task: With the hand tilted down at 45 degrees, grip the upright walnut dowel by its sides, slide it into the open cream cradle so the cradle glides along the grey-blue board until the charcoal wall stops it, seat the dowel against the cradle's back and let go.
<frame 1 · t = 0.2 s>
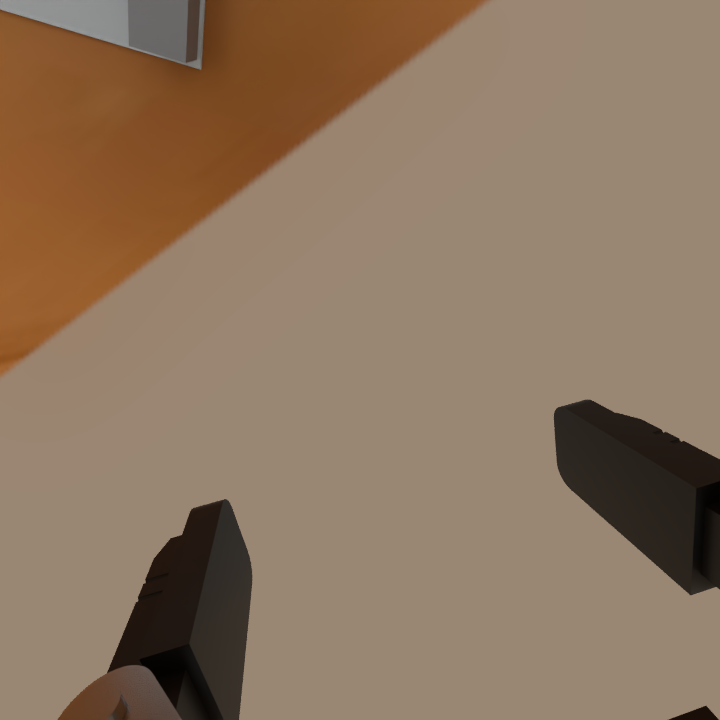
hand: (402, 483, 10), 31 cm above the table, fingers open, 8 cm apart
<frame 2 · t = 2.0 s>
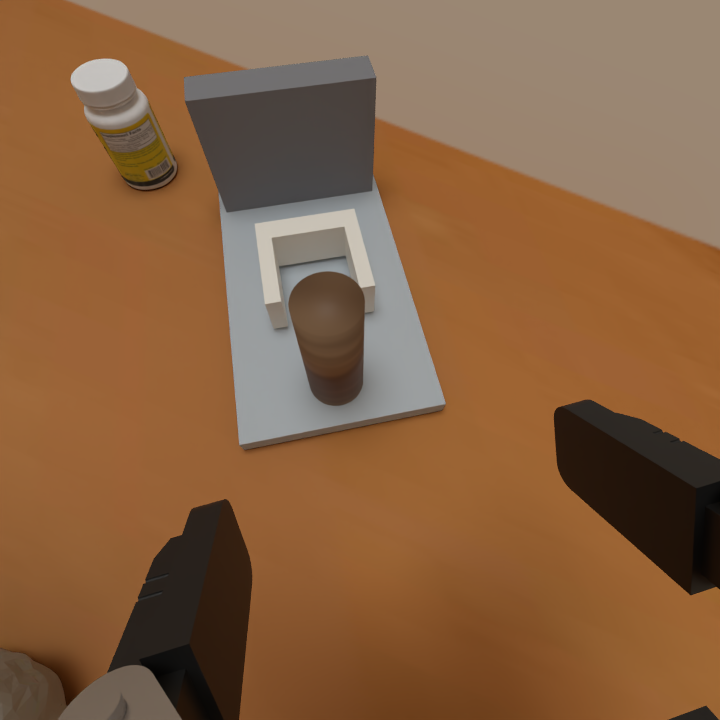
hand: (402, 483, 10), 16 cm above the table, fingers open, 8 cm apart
board with wall: (318, 291, 32), on the table
cradle: (314, 267, 29), point 3 cm above the table, slide at 0.0 cm
supplement bottle: (152, 174, 38), on the table
dowel: (336, 380, 27), point 1 cm above the table, touching board with wall
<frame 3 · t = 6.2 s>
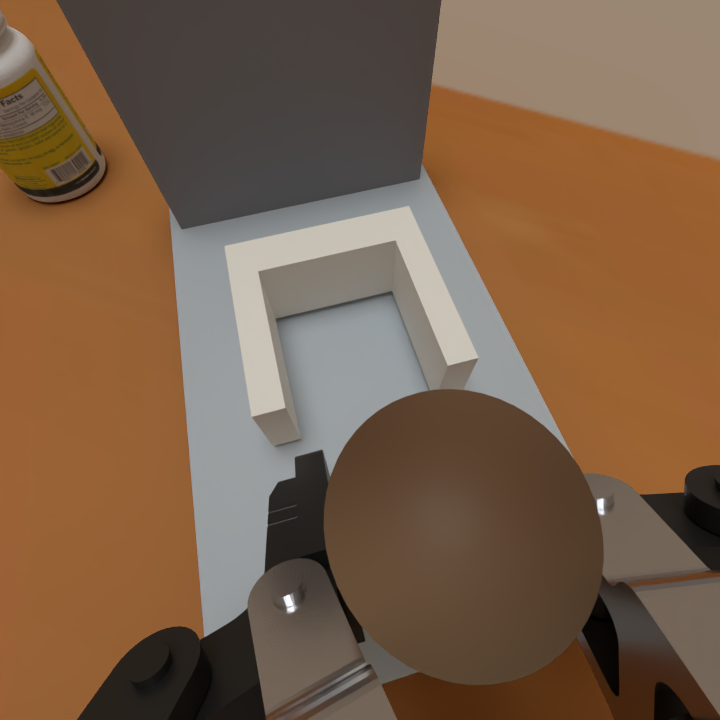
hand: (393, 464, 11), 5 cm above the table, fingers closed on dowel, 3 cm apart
board with wall: (347, 357, 18), on the table
cradle: (343, 321, 15), point 3 cm above the table, slide at 0.0 cm
supplement bottle: (68, 178, 24), on the table
dowel: (407, 553, 13), point 1 cm above the table, touching board with wall, gripper
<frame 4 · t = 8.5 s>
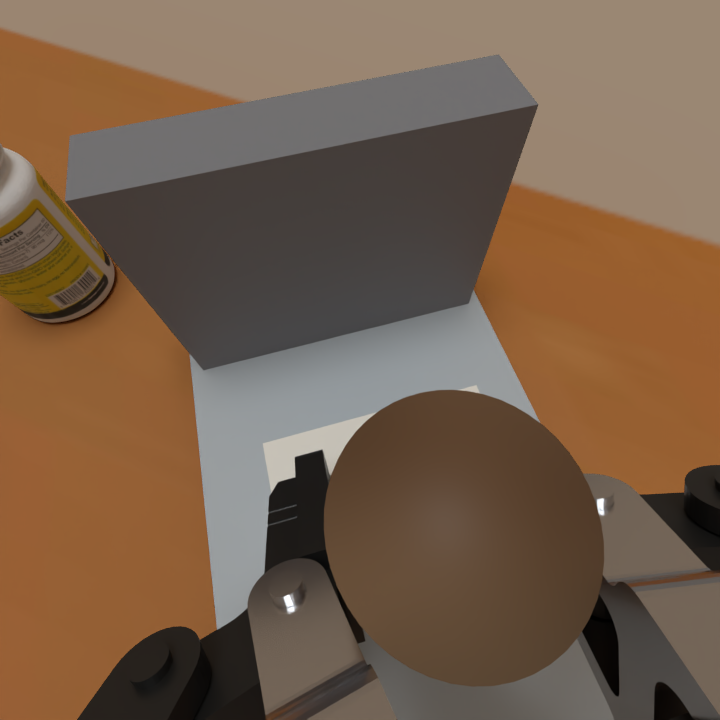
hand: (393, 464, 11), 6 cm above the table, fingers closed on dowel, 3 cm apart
board with wall: (396, 533, 16), on the table
cradle: (402, 529, 13), point 3 cm above the table, slide at 0.0 cm
supplement bottle: (73, 289, 22), on the table
dowel: (407, 553, 13), point 2 cm above the table, touching gripper
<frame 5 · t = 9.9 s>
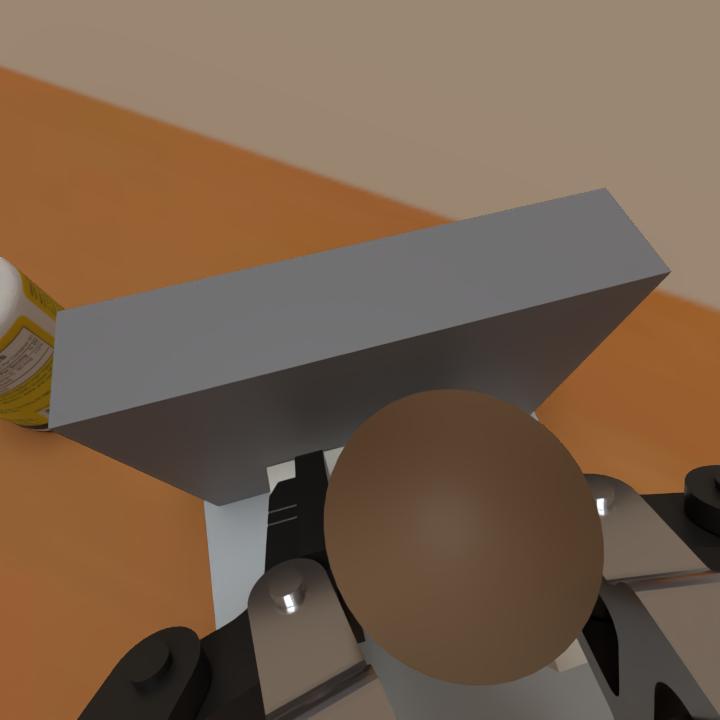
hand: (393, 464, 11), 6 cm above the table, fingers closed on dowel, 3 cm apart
cradle: (410, 555, 13), point 3 cm above the table, slide at 5.0 cm, touching dowel
supplement bottle: (68, 385, 19), on the table
dowel: (407, 553, 13), point 2 cm above the table, touching cradle, gripper
when the fingers open (6 cm above the table, at t = 11.0 s): dowel stays where it is, resting on board with wall.
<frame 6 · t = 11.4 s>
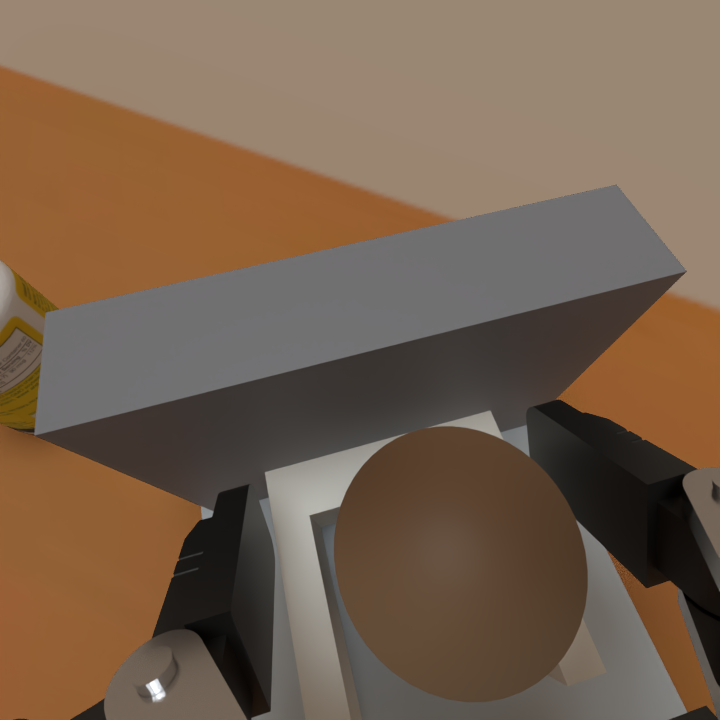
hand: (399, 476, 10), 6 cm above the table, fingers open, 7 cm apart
cradle: (412, 563, 12), point 3 cm above the table, slide at 5.0 cm, touching board with wall
supplement bottle: (63, 387, 19), on the table
dowel: (411, 567, 14), point 1 cm above the table, touching board with wall
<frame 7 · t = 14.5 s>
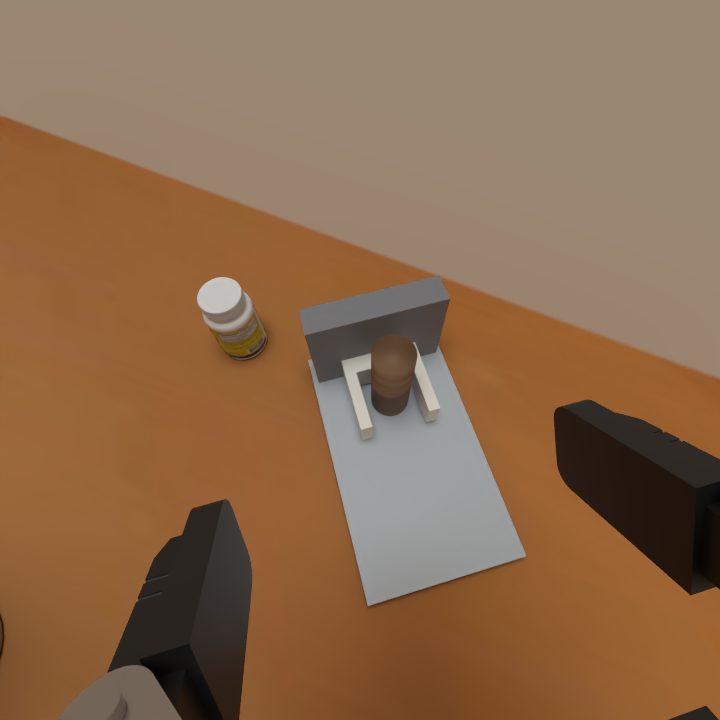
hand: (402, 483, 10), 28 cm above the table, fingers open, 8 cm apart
board with wall: (403, 450, 39), on the table
cradle: (388, 390, 38), point 3 cm above the table, slide at 5.0 cm, touching board with wall
supplement bottle: (246, 342, 45), on the table
dowel: (389, 398, 40), point 1 cm above the table, touching board with wall
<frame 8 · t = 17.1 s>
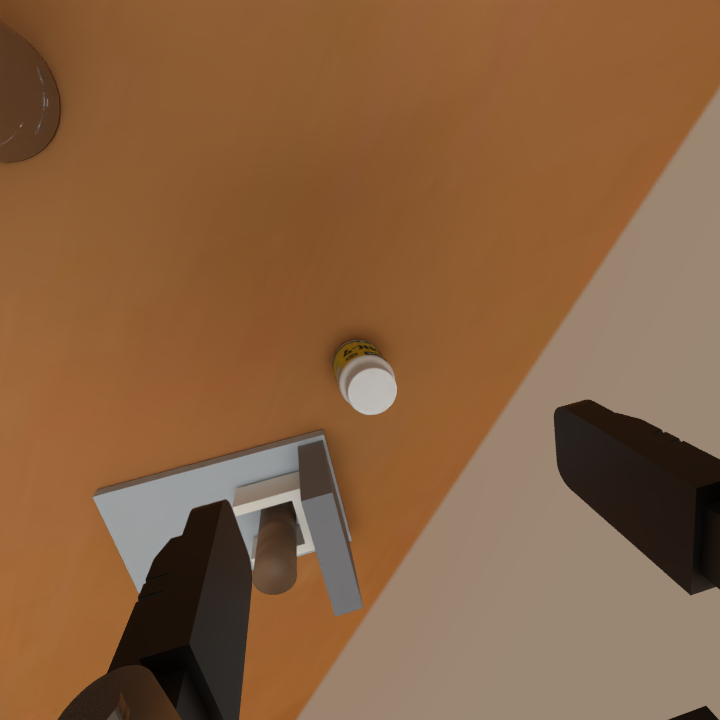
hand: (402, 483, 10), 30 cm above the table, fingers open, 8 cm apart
board with wall: (233, 512, 43), on the table
cradle: (279, 517, 41), point 3 cm above the table, slide at 5.0 cm, touching board with wall
supplement bottle: (355, 361, 41), on the table
dowel: (279, 507, 42), point 1 cm above the table, touching board with wall
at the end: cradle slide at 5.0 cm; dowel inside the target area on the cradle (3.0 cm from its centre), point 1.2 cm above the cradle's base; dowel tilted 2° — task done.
